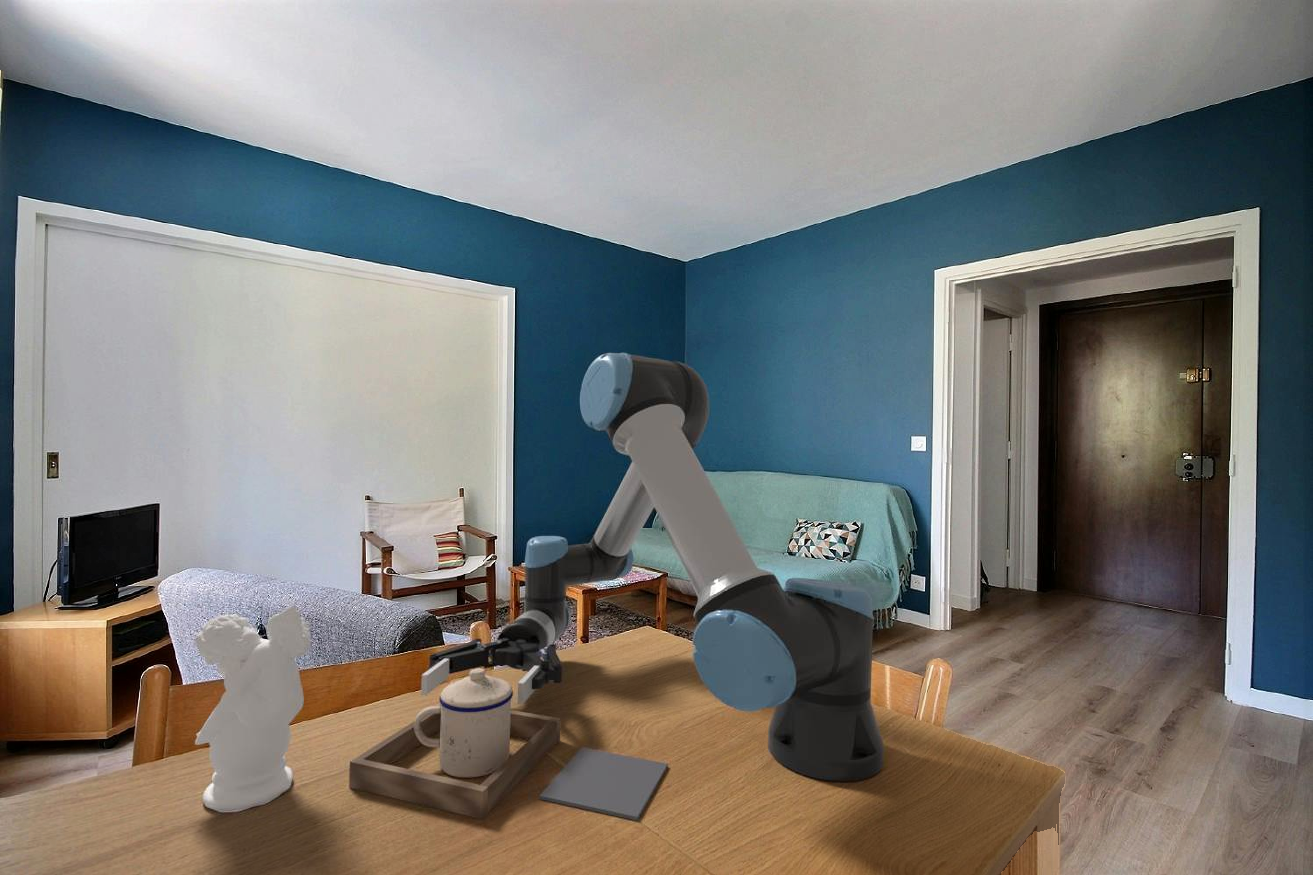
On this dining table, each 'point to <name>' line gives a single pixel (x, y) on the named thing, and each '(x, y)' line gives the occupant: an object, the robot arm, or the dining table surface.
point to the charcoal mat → (606, 783)
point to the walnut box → (448, 793)
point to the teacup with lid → (471, 725)
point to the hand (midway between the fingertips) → (471, 689)
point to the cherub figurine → (252, 707)
